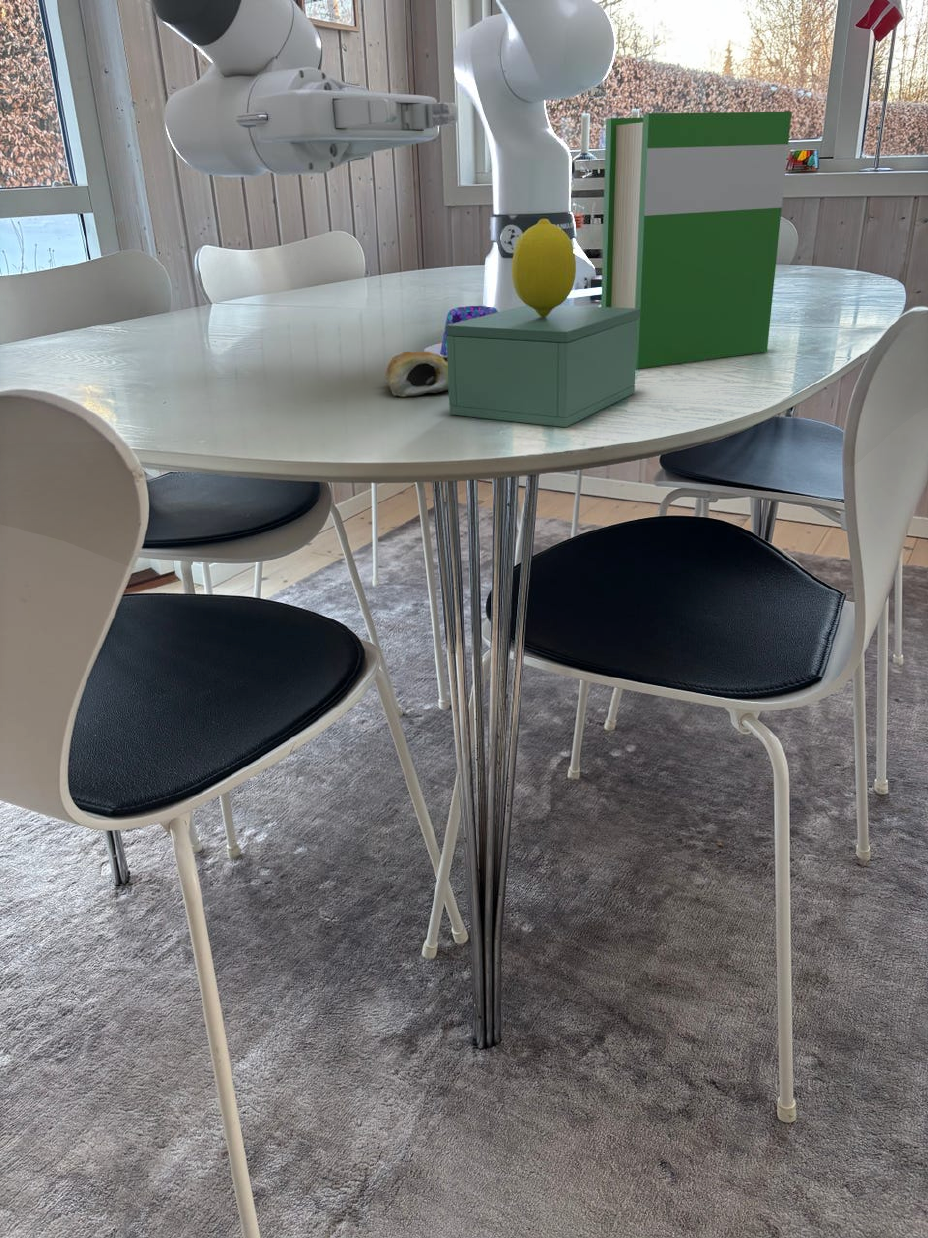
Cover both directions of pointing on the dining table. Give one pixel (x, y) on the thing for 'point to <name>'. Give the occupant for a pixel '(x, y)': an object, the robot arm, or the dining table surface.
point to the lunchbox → (541, 376)
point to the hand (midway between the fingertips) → (423, 111)
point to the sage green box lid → (544, 323)
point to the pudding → (458, 316)
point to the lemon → (543, 267)
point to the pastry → (417, 373)
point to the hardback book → (694, 230)
